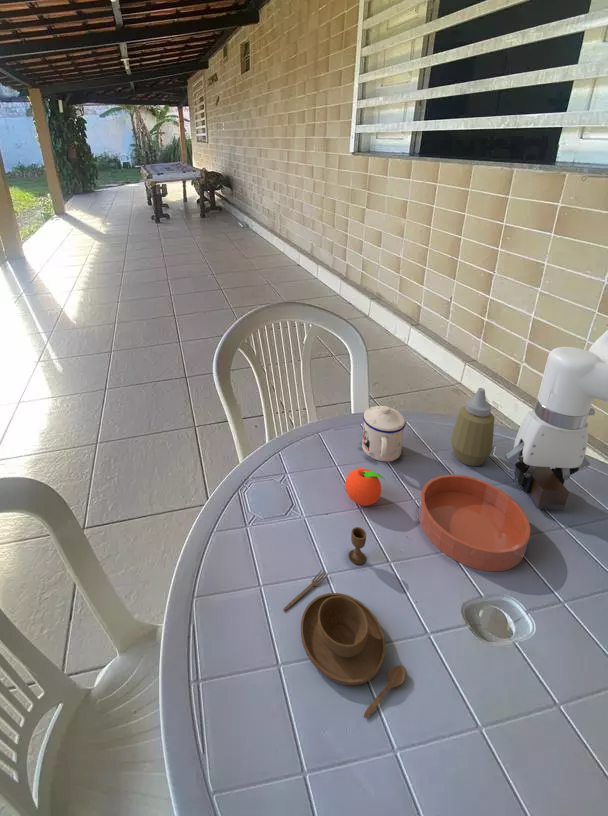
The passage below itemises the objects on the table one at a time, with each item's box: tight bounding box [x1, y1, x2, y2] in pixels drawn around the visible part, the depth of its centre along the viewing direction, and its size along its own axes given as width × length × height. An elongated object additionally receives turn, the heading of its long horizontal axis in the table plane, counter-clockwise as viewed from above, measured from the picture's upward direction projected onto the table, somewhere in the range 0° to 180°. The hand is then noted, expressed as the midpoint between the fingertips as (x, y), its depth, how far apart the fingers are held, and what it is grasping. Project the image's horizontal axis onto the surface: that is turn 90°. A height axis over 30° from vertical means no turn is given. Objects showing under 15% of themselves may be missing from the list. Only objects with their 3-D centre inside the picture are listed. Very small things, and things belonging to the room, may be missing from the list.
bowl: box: [418, 474, 531, 572], centre depth 78 cm, size 17×17×4 cm
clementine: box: [344, 467, 386, 507], centre depth 85 cm, size 8×7×7 cm
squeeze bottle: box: [450, 387, 495, 467], centre depth 92 cm, size 8×8×18 cm
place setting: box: [282, 526, 406, 719], centre depth 63 cm, size 18×20×6 cm
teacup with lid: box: [361, 405, 407, 462], centre depth 96 cm, size 12×9×12 cm
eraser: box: [513, 456, 570, 511], centre depth 83 cm, size 4×9×4 cm, turn 172°
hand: (538, 488), depth 84 cm, fingers closed on eraser, 4 cm apart
